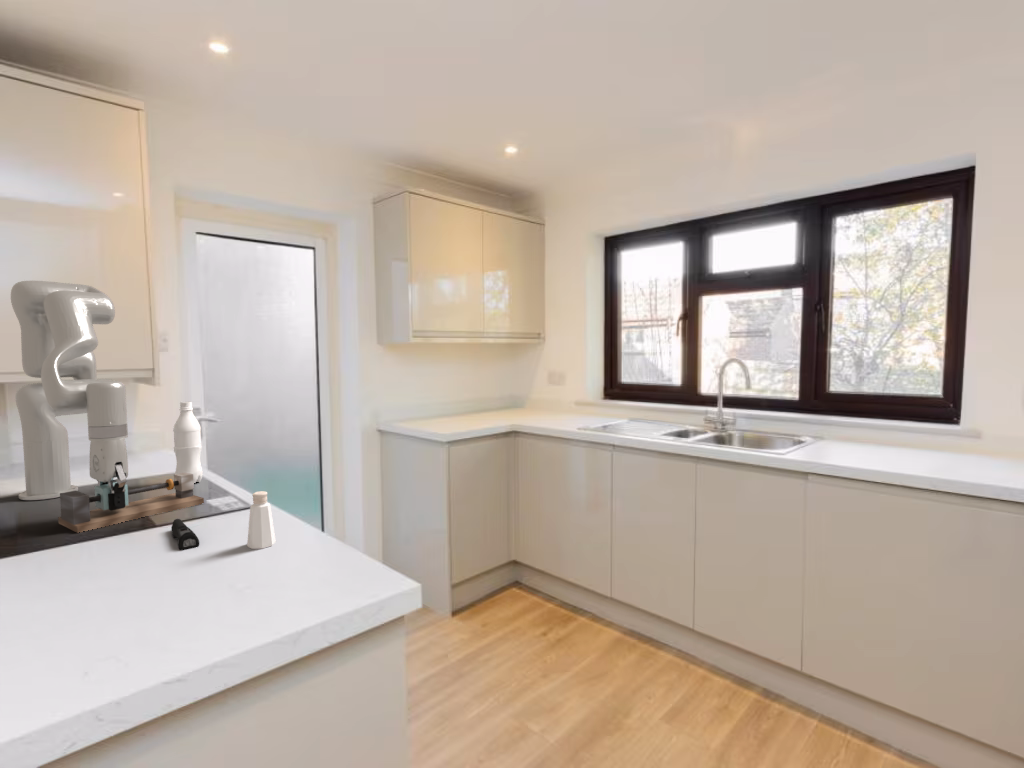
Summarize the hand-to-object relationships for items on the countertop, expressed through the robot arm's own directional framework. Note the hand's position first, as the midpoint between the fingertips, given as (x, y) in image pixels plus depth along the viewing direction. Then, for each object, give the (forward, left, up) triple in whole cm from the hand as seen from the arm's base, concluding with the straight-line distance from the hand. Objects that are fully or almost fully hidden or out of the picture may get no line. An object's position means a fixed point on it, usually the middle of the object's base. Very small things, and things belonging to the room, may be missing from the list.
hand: (112, 506), depth 128 cm
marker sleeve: (0, 0, 0) cm, 0 cm away
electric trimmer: (+30, +2, -3) cm, 30 cm away
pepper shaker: (+47, +10, -3) cm, 48 cm away
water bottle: (-20, +27, -3) cm, 34 cm away
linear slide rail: (0, +5, -3) cm, 6 cm away
